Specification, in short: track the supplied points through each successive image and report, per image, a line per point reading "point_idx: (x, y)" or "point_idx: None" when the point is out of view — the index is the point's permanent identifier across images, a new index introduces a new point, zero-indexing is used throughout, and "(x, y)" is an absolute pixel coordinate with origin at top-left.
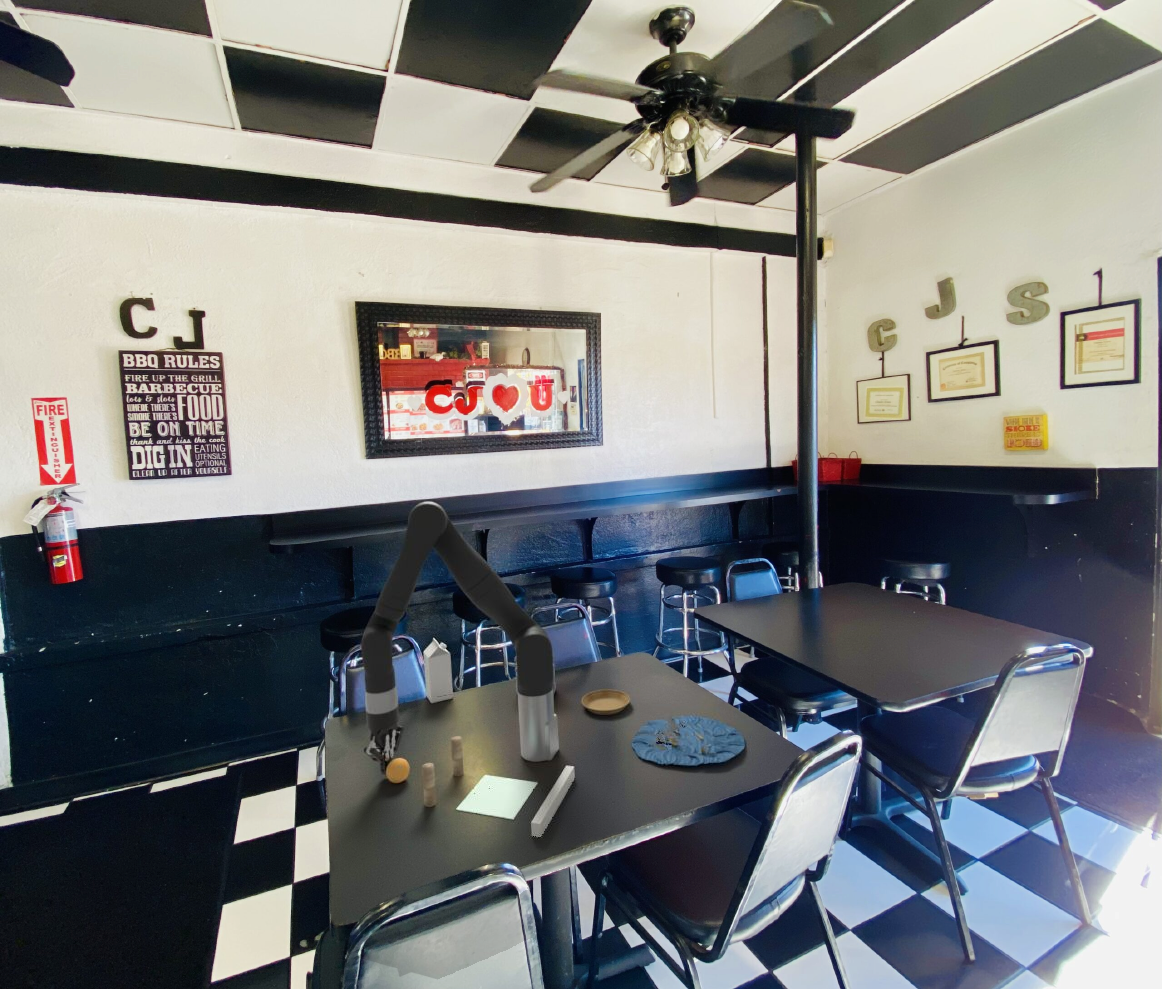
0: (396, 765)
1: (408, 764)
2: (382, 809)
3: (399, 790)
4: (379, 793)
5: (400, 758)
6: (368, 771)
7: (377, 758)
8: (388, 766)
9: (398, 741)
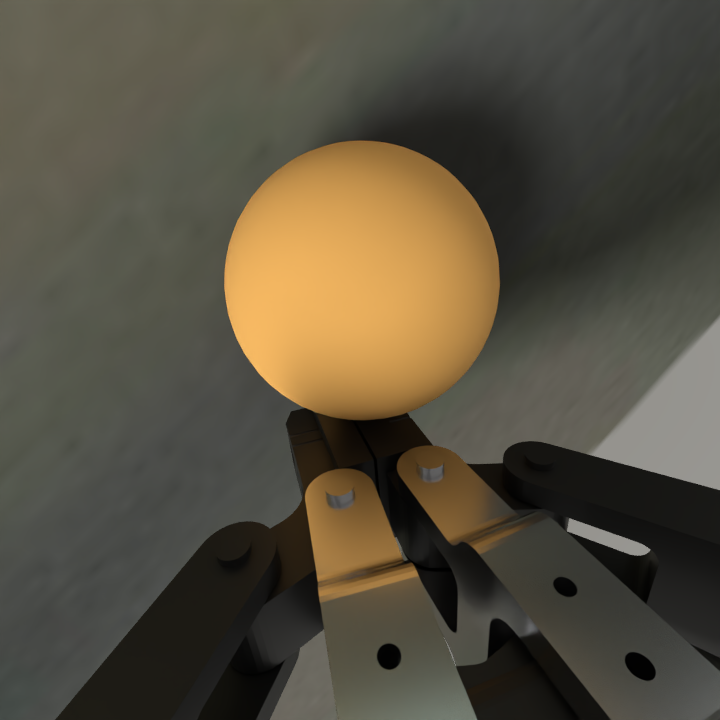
0: (481, 257)
1: (283, 190)
2: (664, 96)
3: (438, 146)
4: (505, 281)
5: (352, 323)
6: None
7: (685, 484)
8: (471, 364)
9: (145, 682)
